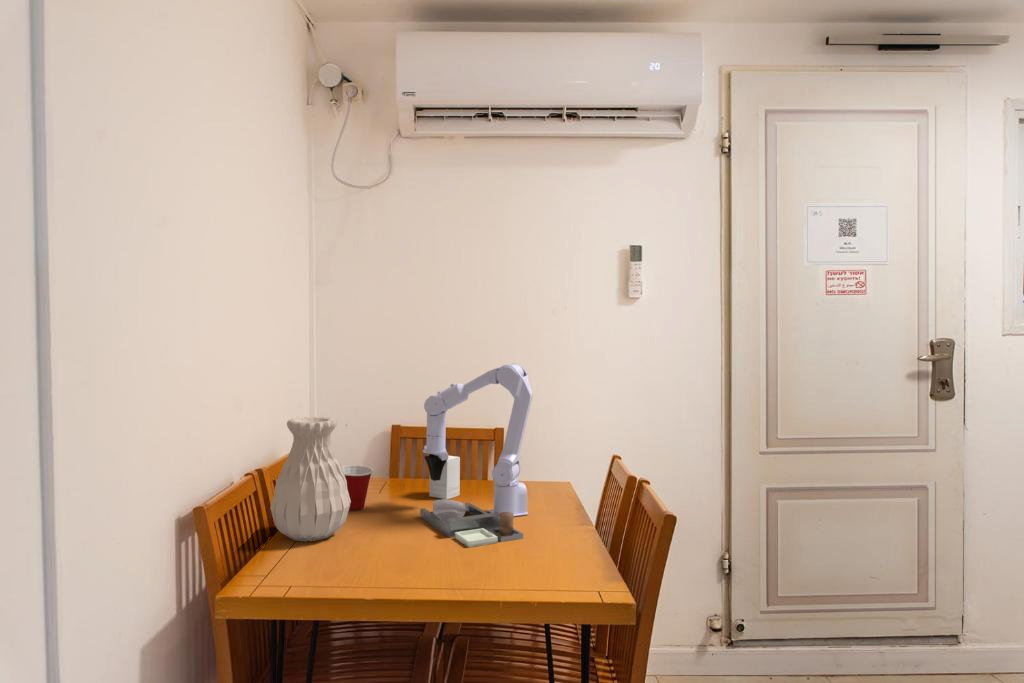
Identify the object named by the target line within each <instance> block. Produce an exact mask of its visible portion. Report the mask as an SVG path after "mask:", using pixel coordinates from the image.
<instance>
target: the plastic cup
mask: <svg viewBox="0 0 1024 683" xmlns="http://www.w3.org/2000/svg"><path fill="white" fill-rule="evenodd" d="M341 468H342V471H343V473H344V474H345V478H346V481H347V490H348V493H349V497H350V500H351V503H350V507H349V512H350V511H361V510H363V509H364V507H365V503H366V498H367V496H368V495H367V494H368V489H369V484H370V480H371V477H372V474H373V472H374V469H373V468H372V467H370V466H365V465H361V464H360V465H358V464H349V465H342V466H341Z"/></svg>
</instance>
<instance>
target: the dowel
mask: <svg viewBox="0 0 1024 683" xmlns="http://www.w3.org/2000/svg"><path fill="white" fill-rule="evenodd" d="M513 528H514V517H513V513H511V512H501V513H500V521H499V534H500V535H502V536H505V535H511V534H513Z"/></svg>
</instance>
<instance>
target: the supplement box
mask: <svg viewBox="0 0 1024 683" xmlns="http://www.w3.org/2000/svg"><path fill="white" fill-rule="evenodd" d="M428 476H429V478H428V479H429V481H428V482H429V483H428V484H429V488H428V489H429V491H428V492H429V494H428V495H429V498H431V497H432V498H436V499H440V500H442V499H446V500H451V499H453V498H455V497H458V496H460V492H461V491H460V490H461V489H460V485H461V484H460V483H461V482H460V479H461V457H460V456H456V455H455V456H453V455H448V460H447V461H446V463H445V465H444V467H443V470H442V474H441V478H440V480H437V481H433V480H431V477H430V472H429V475H428Z"/></svg>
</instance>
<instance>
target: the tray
mask: <svg viewBox="0 0 1024 683" xmlns="http://www.w3.org/2000/svg"><path fill="white" fill-rule="evenodd" d="M454 539H455V540H457V541H458V542H460V543H461V544H463V546H465V547H467V548H473V547H480V546H486V545H487V546H488V545H493V544H498V541H499V540H498V537H497V536H495V535H494V534H492V533H490V532H489V531H487V530H485V529H484V528H481V529H474V530H468V531H461V532H455V537H454Z"/></svg>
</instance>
